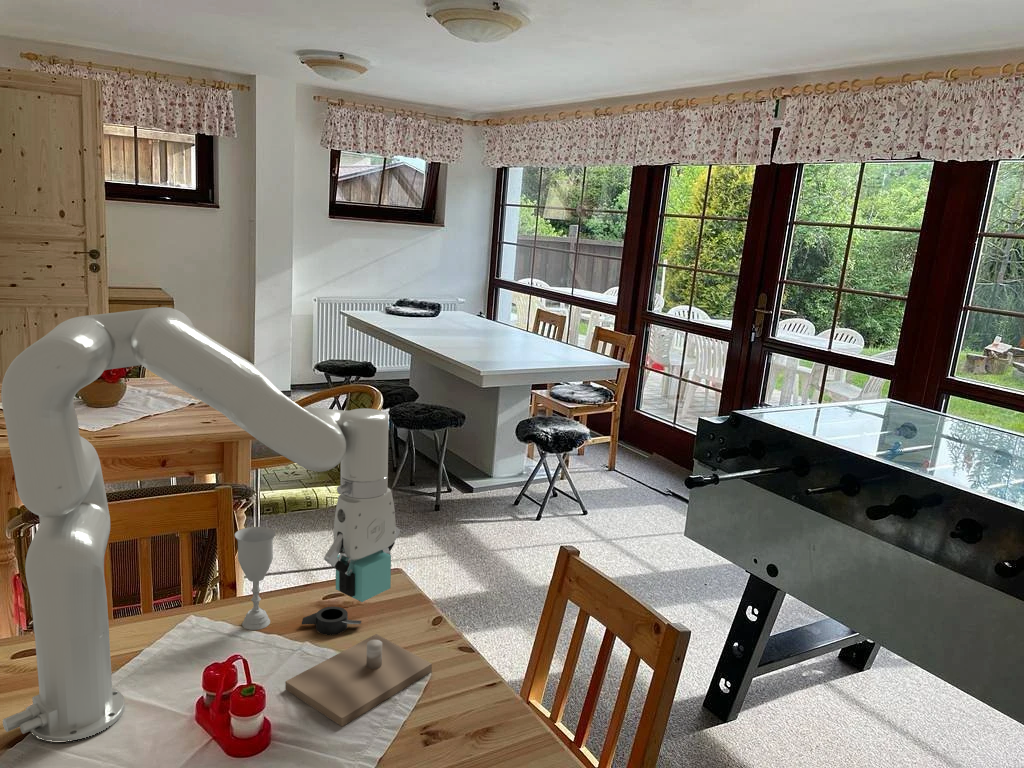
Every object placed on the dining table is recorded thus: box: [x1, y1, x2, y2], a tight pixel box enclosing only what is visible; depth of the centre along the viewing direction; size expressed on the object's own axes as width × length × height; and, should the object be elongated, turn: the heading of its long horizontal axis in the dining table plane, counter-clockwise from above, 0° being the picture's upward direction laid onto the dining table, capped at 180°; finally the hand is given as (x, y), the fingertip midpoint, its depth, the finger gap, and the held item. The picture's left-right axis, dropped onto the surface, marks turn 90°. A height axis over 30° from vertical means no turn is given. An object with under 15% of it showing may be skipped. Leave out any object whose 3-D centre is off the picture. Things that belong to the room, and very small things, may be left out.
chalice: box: [234, 526, 276, 631], centre depth 145 cm, size 7×7×18 cm
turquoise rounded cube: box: [335, 551, 392, 603], centre depth 129 cm, size 6×6×6 cm
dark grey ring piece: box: [301, 606, 362, 636], centre depth 147 cm, size 8×10×3 cm
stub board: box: [284, 633, 433, 727], centre depth 131 cm, size 20×14×6 cm
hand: (363, 585), depth 130 cm, fingers closed on turquoise rounded cube, 6 cm apart
